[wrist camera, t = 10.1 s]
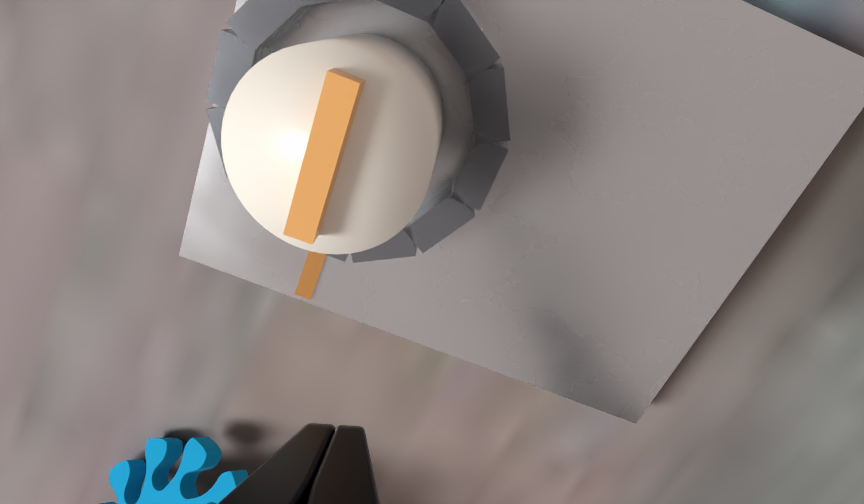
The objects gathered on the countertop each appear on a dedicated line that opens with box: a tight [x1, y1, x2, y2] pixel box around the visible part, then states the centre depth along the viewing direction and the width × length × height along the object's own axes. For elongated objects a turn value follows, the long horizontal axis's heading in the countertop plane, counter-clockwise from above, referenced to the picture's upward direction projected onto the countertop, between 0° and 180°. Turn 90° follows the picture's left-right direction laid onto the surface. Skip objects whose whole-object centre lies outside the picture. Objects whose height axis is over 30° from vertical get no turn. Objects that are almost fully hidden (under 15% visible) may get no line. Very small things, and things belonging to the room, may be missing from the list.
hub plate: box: [179, 0, 864, 423], centre depth 18 cm, size 18×14×2 cm
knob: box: [221, 34, 444, 254], centre depth 14 cm, size 5×5×6 cm
